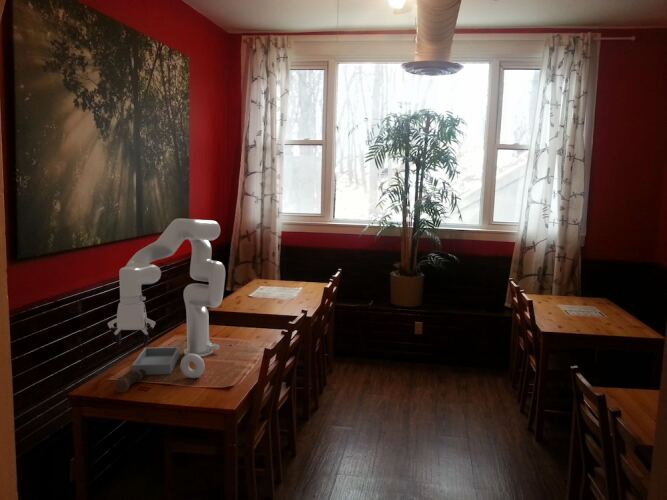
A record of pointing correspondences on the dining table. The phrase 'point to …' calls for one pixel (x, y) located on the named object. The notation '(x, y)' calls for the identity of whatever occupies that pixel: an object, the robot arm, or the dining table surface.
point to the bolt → (129, 380)
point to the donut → (187, 370)
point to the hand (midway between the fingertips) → (132, 343)
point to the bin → (157, 360)
